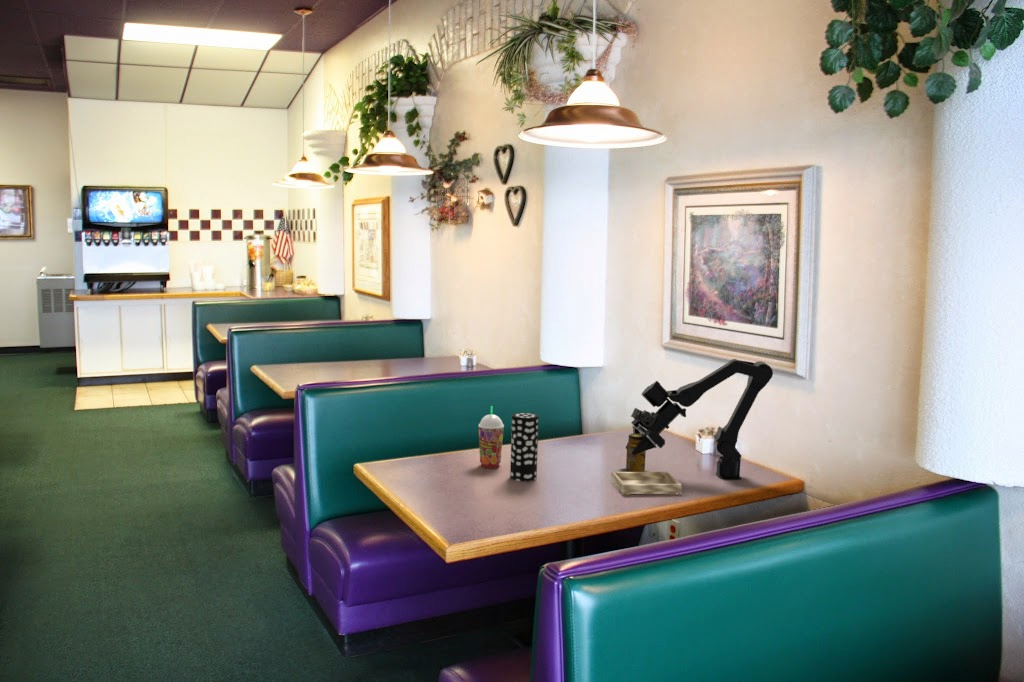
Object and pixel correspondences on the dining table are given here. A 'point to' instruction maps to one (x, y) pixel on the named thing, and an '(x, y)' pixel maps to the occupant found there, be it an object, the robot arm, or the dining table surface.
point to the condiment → (634, 456)
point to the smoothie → (490, 440)
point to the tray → (645, 483)
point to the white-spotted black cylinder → (524, 446)
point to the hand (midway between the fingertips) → (629, 451)
